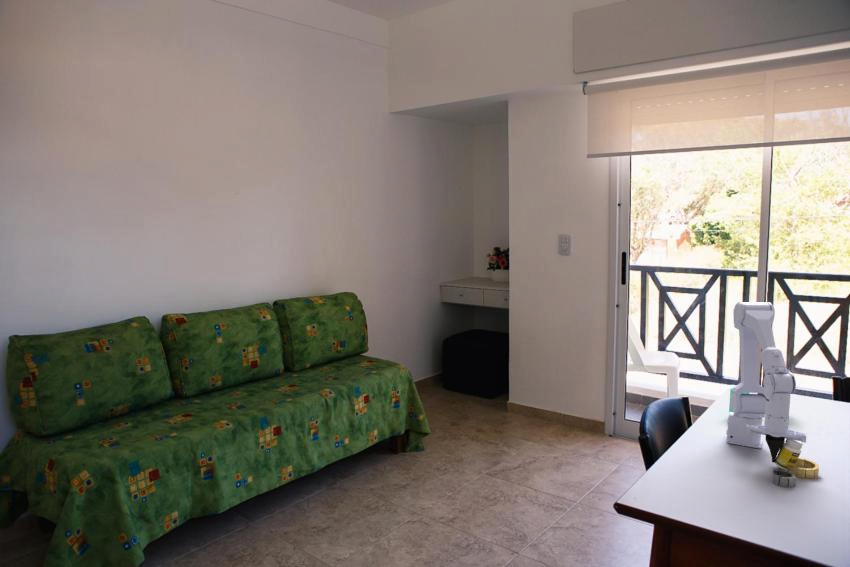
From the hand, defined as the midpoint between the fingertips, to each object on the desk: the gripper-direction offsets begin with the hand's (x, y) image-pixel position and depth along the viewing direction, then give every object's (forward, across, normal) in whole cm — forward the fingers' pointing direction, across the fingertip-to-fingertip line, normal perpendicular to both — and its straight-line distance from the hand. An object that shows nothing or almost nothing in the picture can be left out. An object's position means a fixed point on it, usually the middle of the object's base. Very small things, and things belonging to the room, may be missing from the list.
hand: (773, 461), depth 171 cm
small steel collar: (+2, +3, -10) cm, 10 cm away
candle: (+2, -12, +38) cm, 40 cm away
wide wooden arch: (+2, +7, 0) cm, 7 cm away
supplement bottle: (+1, +2, 0) cm, 3 cm away
